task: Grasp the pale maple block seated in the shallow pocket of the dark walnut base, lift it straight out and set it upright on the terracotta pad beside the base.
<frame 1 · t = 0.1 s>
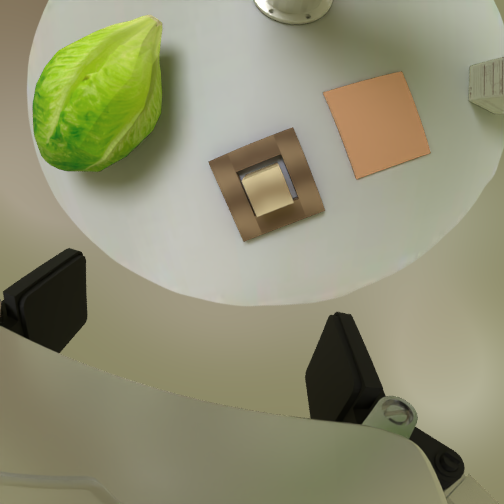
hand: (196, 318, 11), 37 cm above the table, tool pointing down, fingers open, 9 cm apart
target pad: (380, 122, 41), on the table
pocket block: (267, 183, 45), on the table
maple block: (267, 183, 45), resting in pocket block
lettuce: (126, 99, 42), on the table
supplement box: (481, 90, 37), on the table
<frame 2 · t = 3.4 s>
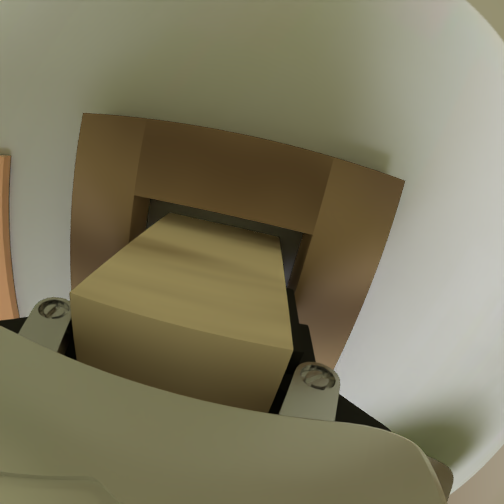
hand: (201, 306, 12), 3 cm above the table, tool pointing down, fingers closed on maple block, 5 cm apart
pocket block: (212, 276, 14), on the table
maple block: (213, 275, 14), resting in pocket block, touching gripper
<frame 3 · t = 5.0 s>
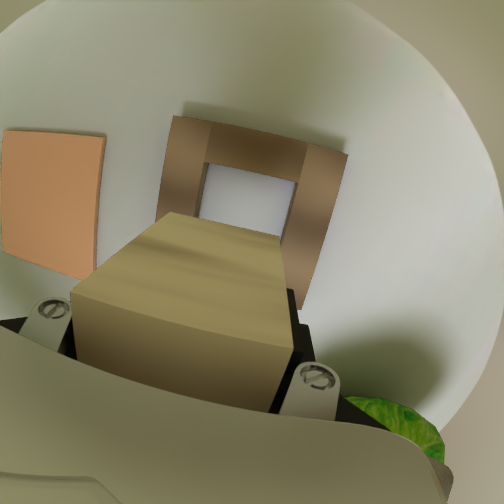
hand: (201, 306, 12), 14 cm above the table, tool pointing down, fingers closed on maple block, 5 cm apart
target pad: (43, 201, 25), on the table
pocket block: (243, 211, 25), on the table
maple block: (213, 274, 14), point 11 cm above the table, touching gripper
lettuce: (326, 416, 33), on the table
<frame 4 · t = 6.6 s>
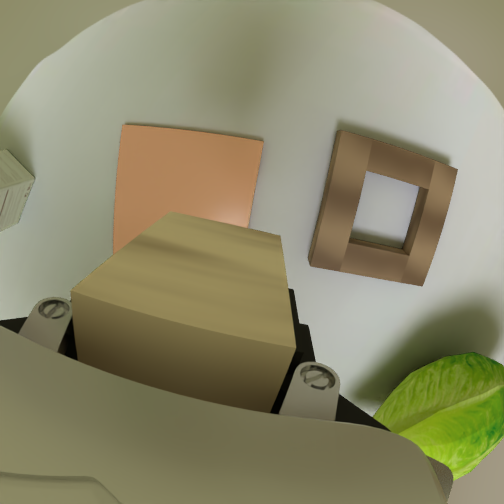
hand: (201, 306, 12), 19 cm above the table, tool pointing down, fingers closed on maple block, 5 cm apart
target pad: (180, 201, 30), on the table
pocket block: (383, 210, 29), on the table
maple block: (214, 274, 14), point 16 cm above the table, touching gripper
lettuce: (417, 381, 37), on the table
supplement box: (13, 186, 30), on the table
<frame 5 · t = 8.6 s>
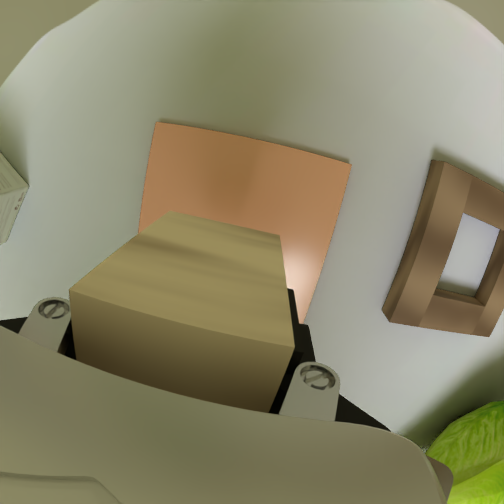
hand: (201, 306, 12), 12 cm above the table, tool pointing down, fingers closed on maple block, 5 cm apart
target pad: (232, 233, 23), on the table
pocket block: (465, 256, 22), on the table
maple block: (213, 273, 14), point 9 cm above the table, touching gripper
lettuce: (457, 424, 30), on the table
supplement box: (1, 193, 22), on the table
when the fingers open (5 cm above the table, at t = 10.1 s): maple block drops 2 cm, resting on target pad.
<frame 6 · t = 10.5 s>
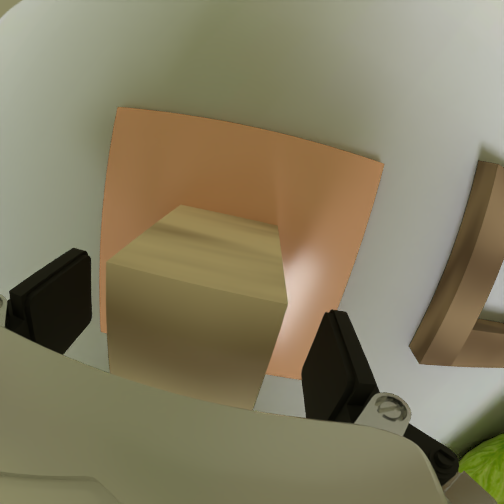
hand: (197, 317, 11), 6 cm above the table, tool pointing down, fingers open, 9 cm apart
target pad: (220, 256, 17), on the table
maple block: (219, 260, 16), point 1 cm above the table, touching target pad
lettuce: (473, 450, 24), on the table
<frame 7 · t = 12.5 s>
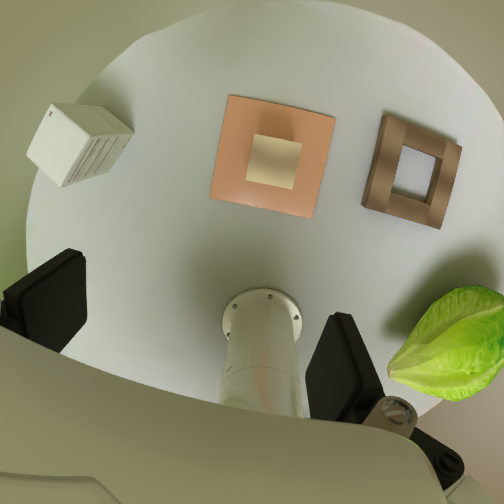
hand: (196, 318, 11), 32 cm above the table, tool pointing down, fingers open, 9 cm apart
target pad: (271, 156, 39), on the table
pocket block: (412, 173, 39), on the table
maple block: (272, 156, 38), point 1 cm above the table, touching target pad
lettuce: (436, 316, 47), on the table
supplement box: (105, 139, 39), on the table
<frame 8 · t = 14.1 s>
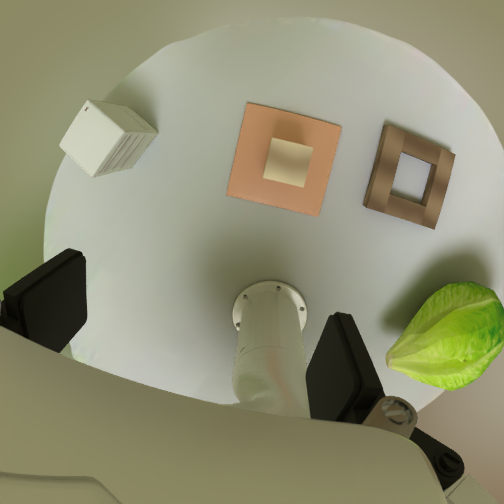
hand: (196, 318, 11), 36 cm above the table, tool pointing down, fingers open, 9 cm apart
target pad: (283, 159, 43), on the table
pocket block: (409, 177, 43), on the table
maple block: (284, 159, 43), point 1 cm above the table, touching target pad
lettuce: (431, 312, 51), on the table
supplement box: (130, 137, 43), on the table
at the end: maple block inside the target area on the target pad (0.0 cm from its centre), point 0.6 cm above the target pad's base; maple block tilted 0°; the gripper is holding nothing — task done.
